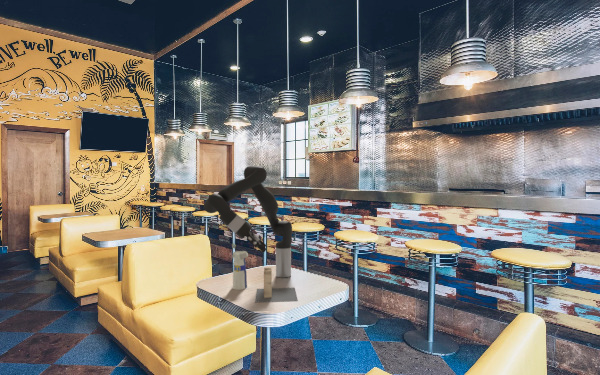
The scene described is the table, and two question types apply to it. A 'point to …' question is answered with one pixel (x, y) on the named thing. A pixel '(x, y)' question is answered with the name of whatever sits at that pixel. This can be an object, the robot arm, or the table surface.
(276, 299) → the rubber mat
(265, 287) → the tan two-tone tall block
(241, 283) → the water bottle
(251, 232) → the robot arm
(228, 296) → the table surface
